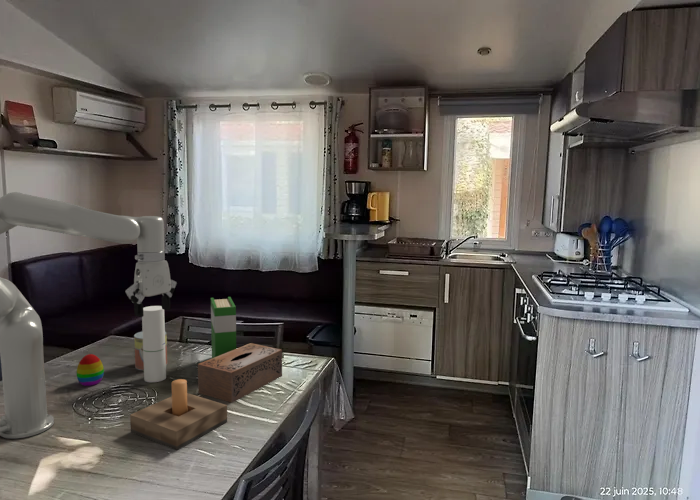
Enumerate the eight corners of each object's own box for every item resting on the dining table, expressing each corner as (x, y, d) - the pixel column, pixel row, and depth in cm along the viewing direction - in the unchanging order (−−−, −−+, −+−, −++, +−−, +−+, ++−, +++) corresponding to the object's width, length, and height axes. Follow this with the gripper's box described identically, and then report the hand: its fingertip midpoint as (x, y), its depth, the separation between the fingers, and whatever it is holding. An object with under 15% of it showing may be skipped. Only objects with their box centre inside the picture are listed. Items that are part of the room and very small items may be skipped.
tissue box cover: (231, 403, 152) (231, 372, 151) (198, 393, 159) (197, 364, 158) (282, 376, 175) (282, 349, 174) (250, 369, 182) (250, 343, 180)
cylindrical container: (169, 375, 174) (167, 306, 171) (160, 382, 167) (157, 311, 164) (150, 374, 175) (148, 305, 172) (140, 381, 168) (137, 310, 164)
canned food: (132, 371, 177) (131, 339, 175) (137, 361, 187) (136, 330, 186) (166, 369, 180) (165, 337, 178) (168, 358, 190) (167, 328, 189)
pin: (179, 428, 134) (178, 385, 132) (169, 424, 136) (168, 382, 134) (190, 422, 137) (189, 381, 136) (180, 418, 139) (179, 378, 138)
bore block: (176, 450, 124) (176, 431, 124) (130, 432, 133) (130, 414, 132) (227, 421, 140) (226, 405, 139) (182, 407, 149) (182, 391, 148)
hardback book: (211, 357, 193) (210, 297, 190) (231, 355, 195) (230, 296, 192) (215, 373, 176) (214, 308, 173) (236, 371, 179) (235, 306, 176)
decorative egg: (91, 377, 171) (90, 349, 170) (109, 380, 168) (108, 352, 167) (71, 385, 163) (69, 356, 162) (90, 389, 161) (88, 359, 160)
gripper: (134, 261, 138) (136, 320, 140) (182, 255, 153) (184, 308, 155) (117, 259, 142) (119, 317, 144) (166, 253, 156) (167, 305, 159)
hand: (153, 312), depth 149 cm, fingers open, 9 cm apart
